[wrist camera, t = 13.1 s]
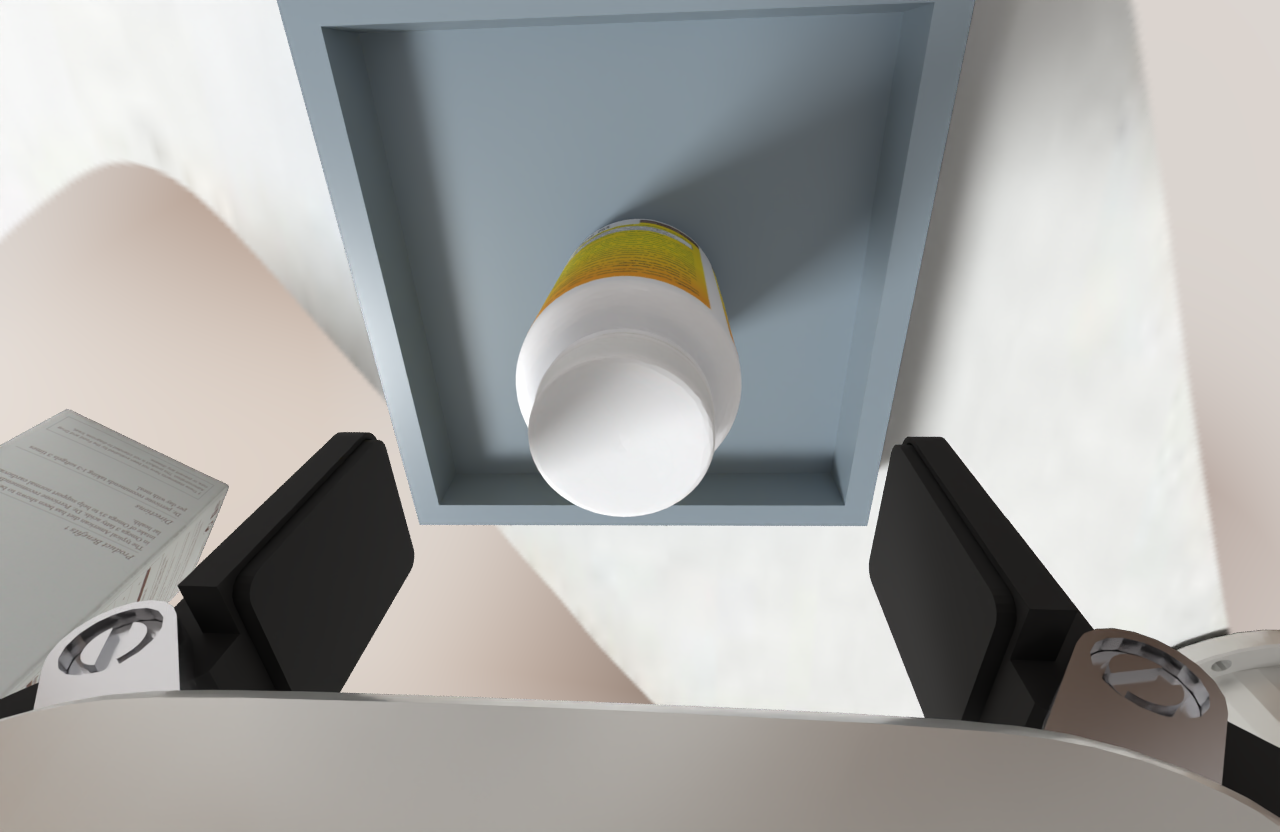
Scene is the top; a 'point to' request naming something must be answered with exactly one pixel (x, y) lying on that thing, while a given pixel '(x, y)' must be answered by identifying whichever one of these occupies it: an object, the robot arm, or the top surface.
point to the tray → (635, 217)
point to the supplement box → (89, 533)
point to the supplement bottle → (629, 371)
